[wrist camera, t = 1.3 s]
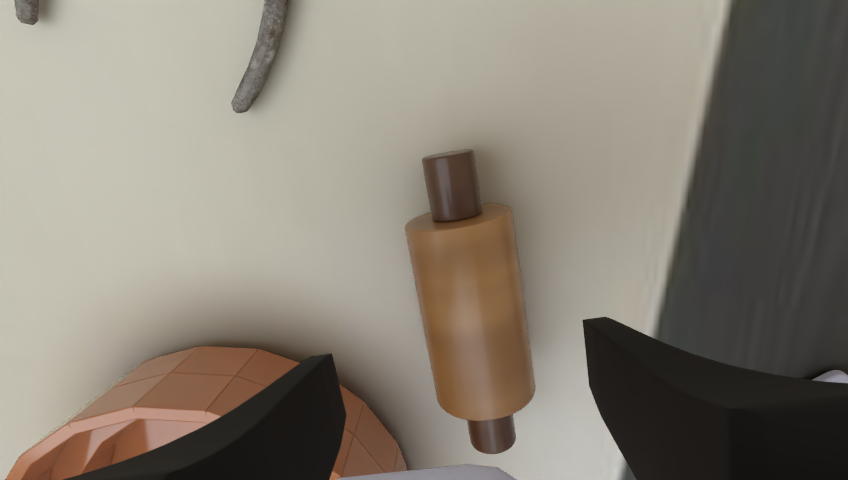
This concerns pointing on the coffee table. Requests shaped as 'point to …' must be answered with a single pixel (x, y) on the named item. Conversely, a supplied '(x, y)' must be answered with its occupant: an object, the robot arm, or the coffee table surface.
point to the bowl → (189, 415)
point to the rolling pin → (471, 302)
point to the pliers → (259, 61)
